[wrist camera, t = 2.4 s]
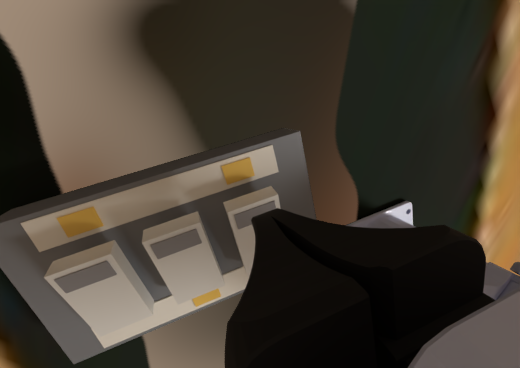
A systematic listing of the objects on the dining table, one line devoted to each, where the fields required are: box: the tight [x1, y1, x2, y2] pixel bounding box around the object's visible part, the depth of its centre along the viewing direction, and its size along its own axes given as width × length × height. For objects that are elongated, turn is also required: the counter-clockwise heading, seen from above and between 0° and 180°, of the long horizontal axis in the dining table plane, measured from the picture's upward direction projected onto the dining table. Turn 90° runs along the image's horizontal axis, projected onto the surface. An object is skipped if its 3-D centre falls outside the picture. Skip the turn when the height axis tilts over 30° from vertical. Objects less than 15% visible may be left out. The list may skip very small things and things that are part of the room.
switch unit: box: [0, 128, 316, 364], centre depth 17 cm, size 10×18×3 cm, turn 104°
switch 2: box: [142, 211, 225, 305], centre depth 14 cm, size 5×3×1 cm, turn 14°
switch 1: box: [44, 240, 154, 337], centre depth 14 cm, size 5×3×1 cm, turn 14°
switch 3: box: [223, 186, 281, 276], centre depth 15 cm, size 5×3×1 cm, turn 14°
